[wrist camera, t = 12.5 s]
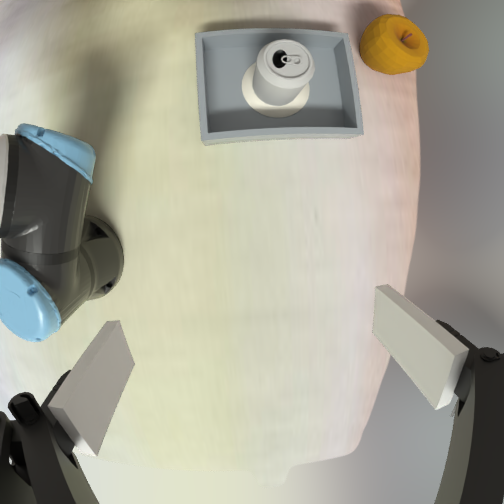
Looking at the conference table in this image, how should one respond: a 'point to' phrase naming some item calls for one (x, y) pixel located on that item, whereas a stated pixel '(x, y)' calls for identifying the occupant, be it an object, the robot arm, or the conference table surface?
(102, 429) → the robot arm
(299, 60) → the can
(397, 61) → the apple
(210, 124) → the walled box
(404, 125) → the conference table surface
